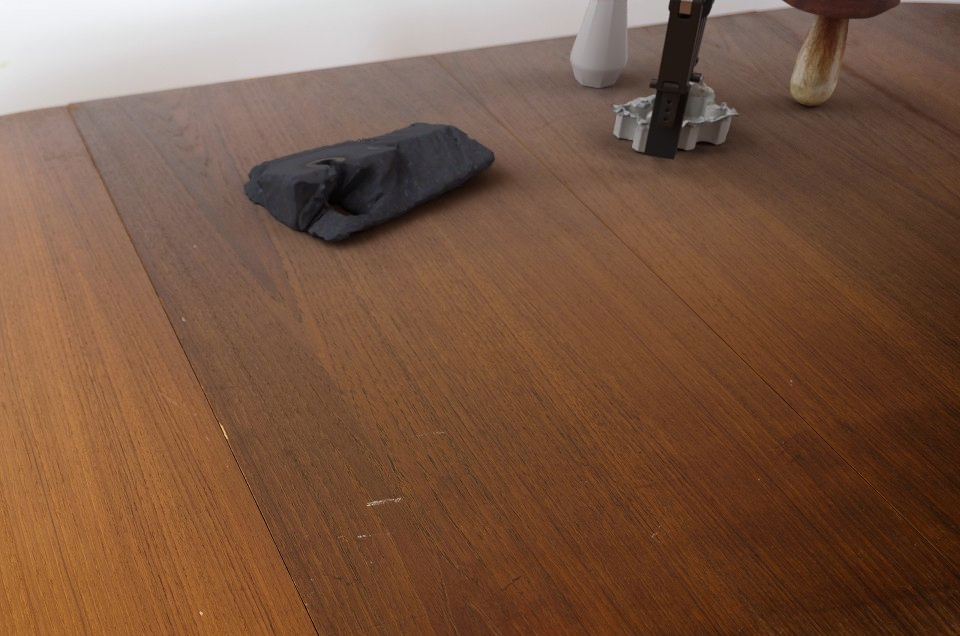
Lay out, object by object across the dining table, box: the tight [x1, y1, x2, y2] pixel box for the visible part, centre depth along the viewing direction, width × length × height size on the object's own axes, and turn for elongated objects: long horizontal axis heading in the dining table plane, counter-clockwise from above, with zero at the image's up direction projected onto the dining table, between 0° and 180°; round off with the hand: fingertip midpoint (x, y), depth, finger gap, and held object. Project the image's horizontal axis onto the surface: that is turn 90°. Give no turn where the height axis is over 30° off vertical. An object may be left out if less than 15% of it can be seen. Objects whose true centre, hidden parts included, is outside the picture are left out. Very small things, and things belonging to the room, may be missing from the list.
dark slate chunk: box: [243, 122, 496, 243], centre depth 113 cm, size 15×22×5 cm
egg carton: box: [609, 76, 741, 153], centre depth 120 cm, size 11×8×4 cm
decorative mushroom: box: [781, 0, 901, 107], centre depth 121 cm, size 11×11×15 cm
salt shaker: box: [569, 0, 629, 89], centre depth 127 cm, size 6×6×13 cm
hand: (659, 153), depth 114 cm, fingers closed
